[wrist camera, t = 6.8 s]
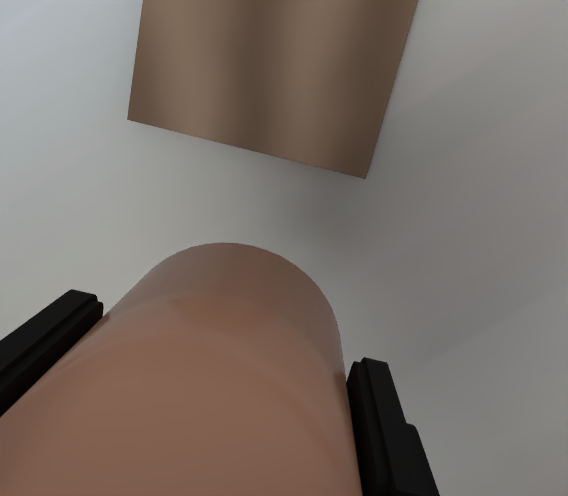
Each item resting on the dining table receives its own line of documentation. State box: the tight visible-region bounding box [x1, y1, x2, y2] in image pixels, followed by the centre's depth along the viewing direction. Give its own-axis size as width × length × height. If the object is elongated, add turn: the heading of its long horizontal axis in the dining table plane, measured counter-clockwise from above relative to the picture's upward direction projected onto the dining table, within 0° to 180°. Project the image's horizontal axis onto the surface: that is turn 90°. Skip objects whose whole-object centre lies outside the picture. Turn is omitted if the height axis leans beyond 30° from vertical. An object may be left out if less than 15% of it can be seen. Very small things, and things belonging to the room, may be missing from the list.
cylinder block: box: [0, 243, 363, 496], centre depth 8 cm, size 6×6×8 cm
